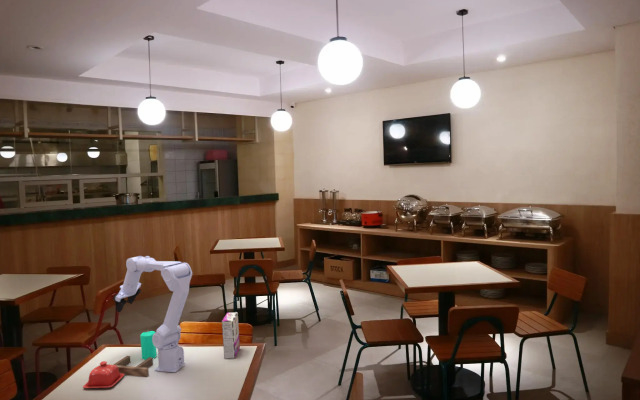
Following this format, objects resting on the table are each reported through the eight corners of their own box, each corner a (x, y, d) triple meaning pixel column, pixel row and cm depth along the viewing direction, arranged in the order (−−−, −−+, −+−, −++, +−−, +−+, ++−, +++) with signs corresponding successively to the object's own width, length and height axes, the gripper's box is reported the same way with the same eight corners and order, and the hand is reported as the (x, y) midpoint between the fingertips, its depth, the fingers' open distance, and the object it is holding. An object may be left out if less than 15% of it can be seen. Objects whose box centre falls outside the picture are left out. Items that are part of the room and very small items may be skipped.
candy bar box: (228, 348, 204) (227, 312, 203) (240, 348, 204) (238, 311, 203) (223, 359, 193) (221, 320, 192) (235, 358, 193) (233, 320, 191)
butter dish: (97, 376, 181) (96, 355, 180) (126, 376, 180) (125, 355, 180) (81, 391, 169) (79, 368, 169) (112, 390, 169) (110, 368, 168)
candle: (159, 354, 200) (157, 327, 199) (152, 360, 194) (151, 332, 193) (145, 354, 201) (144, 327, 200) (139, 360, 195) (137, 332, 194)
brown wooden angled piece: (161, 365, 189) (161, 358, 189) (146, 376, 179) (145, 369, 178) (119, 362, 193) (118, 355, 193) (101, 373, 183) (101, 365, 183)
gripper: (134, 270, 203) (127, 295, 207) (112, 284, 189) (104, 310, 194) (147, 277, 202) (140, 302, 206) (126, 292, 188) (119, 318, 193)
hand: (124, 306), depth 200 cm, fingers open, 7 cm apart
